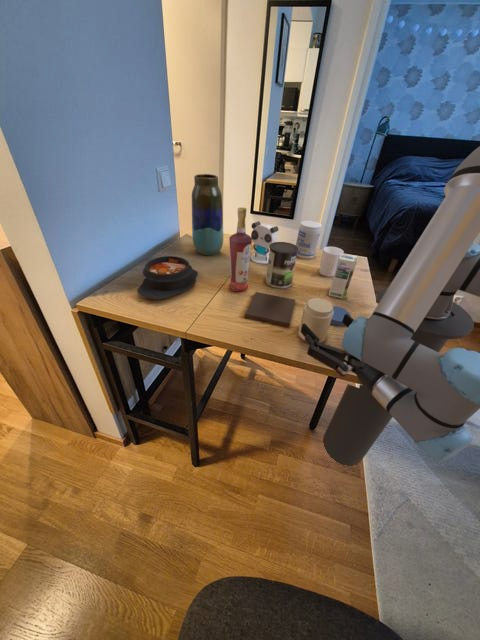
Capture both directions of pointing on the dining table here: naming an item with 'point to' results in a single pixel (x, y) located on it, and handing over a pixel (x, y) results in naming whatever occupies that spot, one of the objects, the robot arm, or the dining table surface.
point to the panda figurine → (262, 241)
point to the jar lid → (338, 316)
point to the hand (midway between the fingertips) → (324, 322)
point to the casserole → (167, 277)
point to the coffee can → (281, 264)
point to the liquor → (239, 254)
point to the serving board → (271, 309)
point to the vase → (207, 214)
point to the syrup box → (342, 275)
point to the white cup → (329, 260)
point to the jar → (317, 317)
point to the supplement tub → (308, 239)
